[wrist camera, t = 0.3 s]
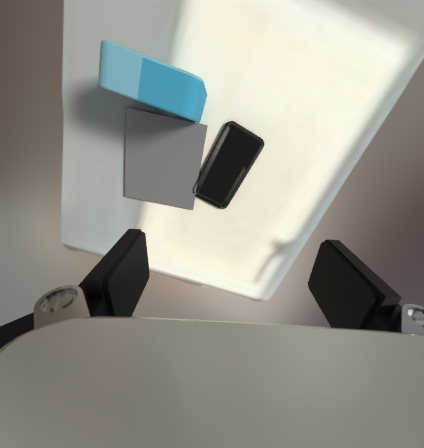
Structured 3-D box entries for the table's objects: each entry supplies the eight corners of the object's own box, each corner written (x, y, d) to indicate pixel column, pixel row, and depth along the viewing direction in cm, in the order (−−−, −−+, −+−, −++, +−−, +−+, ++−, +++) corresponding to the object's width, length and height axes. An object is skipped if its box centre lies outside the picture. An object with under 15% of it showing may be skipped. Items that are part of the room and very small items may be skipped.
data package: (132, 99, 34) (92, 84, 23) (136, 67, 32) (94, 35, 21) (200, 123, 35) (192, 120, 24) (208, 94, 33) (203, 77, 22)
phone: (190, 193, 40) (229, 118, 34) (191, 191, 41) (228, 118, 35) (225, 211, 41) (267, 142, 35) (224, 209, 42) (266, 141, 36)
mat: (127, 107, 34) (126, 107, 34) (207, 125, 35) (207, 125, 35) (125, 195, 41) (124, 196, 40) (193, 208, 42) (192, 209, 41)
